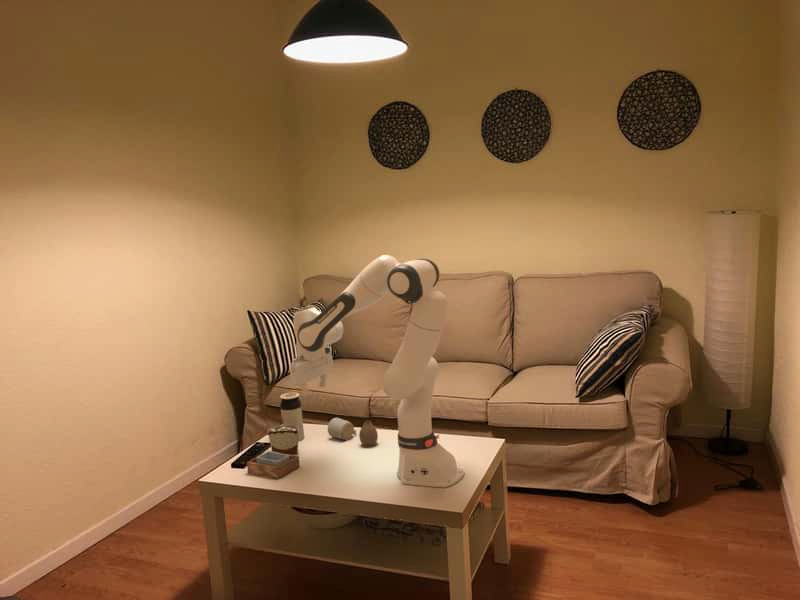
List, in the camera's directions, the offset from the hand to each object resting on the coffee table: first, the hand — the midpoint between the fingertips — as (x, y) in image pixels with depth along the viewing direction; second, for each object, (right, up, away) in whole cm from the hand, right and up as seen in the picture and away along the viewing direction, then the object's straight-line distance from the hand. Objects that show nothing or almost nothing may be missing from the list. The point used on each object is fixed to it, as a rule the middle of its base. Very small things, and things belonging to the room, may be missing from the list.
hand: (314, 390), depth 244 cm
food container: (-12, -25, +14) cm, 31 cm away
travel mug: (-11, -23, +28) cm, 38 cm away
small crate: (-14, -27, -2) cm, 30 cm away
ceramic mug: (+8, -22, +26) cm, 35 cm away
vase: (+19, -23, +16) cm, 33 cm away
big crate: (-14, -28, -2) cm, 31 cm away
